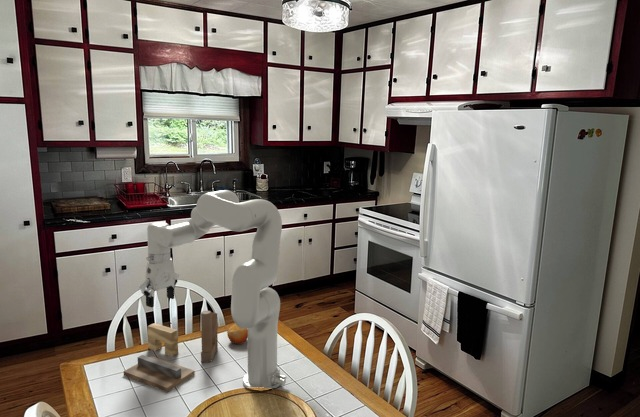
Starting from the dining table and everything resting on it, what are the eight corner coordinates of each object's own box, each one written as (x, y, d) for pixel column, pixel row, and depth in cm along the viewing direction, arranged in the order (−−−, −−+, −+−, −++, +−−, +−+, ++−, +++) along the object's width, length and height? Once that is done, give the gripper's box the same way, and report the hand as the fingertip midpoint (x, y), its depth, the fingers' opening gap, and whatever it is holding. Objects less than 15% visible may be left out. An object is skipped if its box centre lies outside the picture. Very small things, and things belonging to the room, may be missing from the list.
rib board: (194, 374, 155) (194, 362, 154) (167, 392, 144) (166, 378, 143) (152, 360, 164) (151, 348, 163) (123, 375, 153) (123, 362, 153)
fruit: (255, 335, 182) (248, 322, 177) (244, 351, 177) (236, 338, 172) (240, 330, 186) (233, 317, 182) (228, 346, 181) (221, 333, 177)
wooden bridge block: (154, 345, 175) (154, 323, 173) (178, 353, 169) (177, 330, 168) (148, 348, 172) (147, 325, 171) (172, 356, 167) (171, 333, 165)
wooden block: (217, 348, 173) (217, 303, 171) (211, 362, 163) (210, 314, 160) (208, 348, 174) (207, 302, 171) (200, 362, 163) (199, 314, 160)
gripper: (147, 264, 156) (148, 312, 159) (184, 253, 171) (185, 297, 174) (132, 260, 159) (133, 307, 162) (170, 250, 174) (170, 293, 177)
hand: (160, 302), depth 168 cm, fingers open, 9 cm apart
